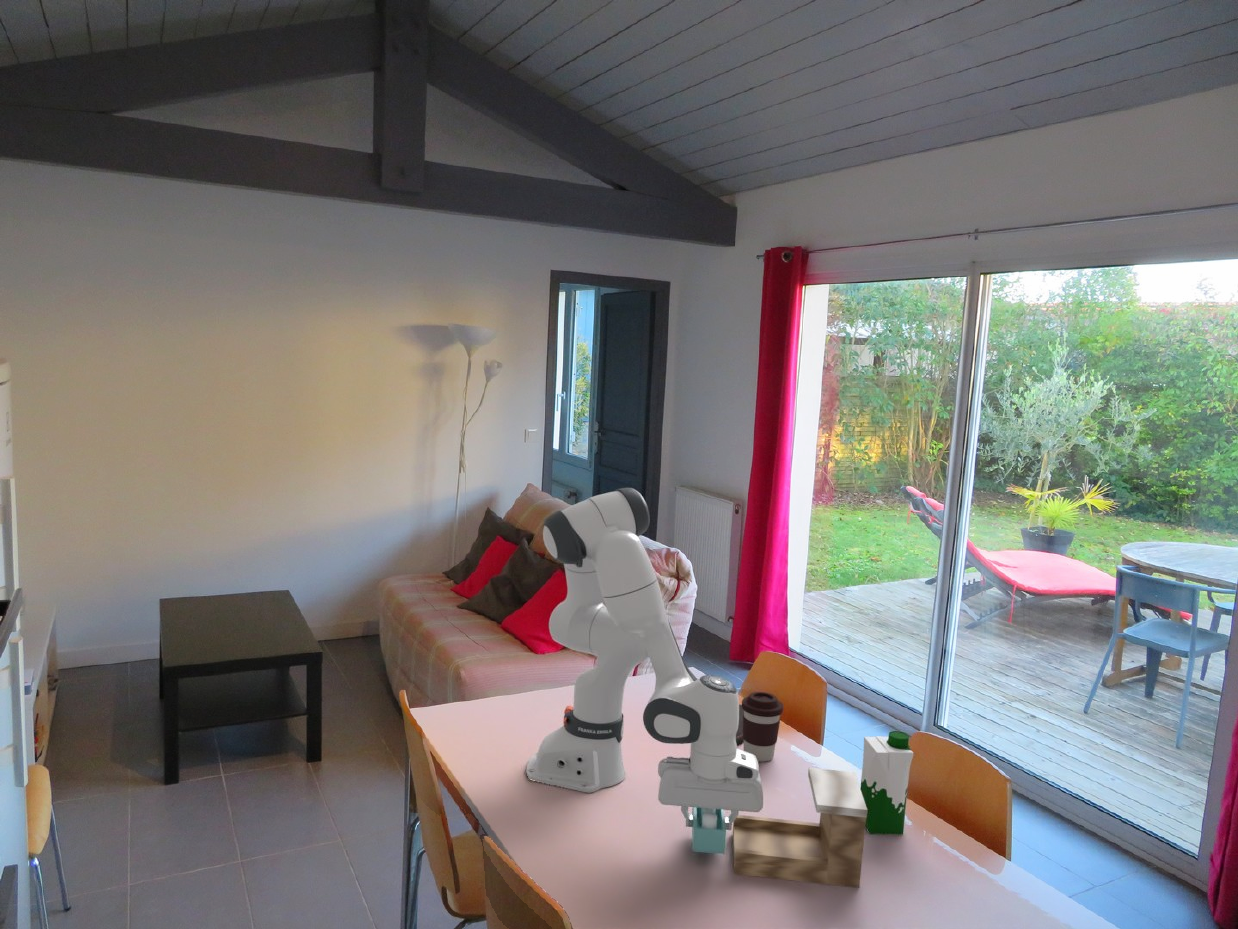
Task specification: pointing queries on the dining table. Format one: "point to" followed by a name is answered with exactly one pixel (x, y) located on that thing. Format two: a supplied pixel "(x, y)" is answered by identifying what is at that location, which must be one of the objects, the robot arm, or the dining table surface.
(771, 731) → the coffee cup
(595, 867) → the dining table surface
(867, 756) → the milk carton
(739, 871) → the counter
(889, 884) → the dining table surface
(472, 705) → the dining table surface
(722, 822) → the tray
